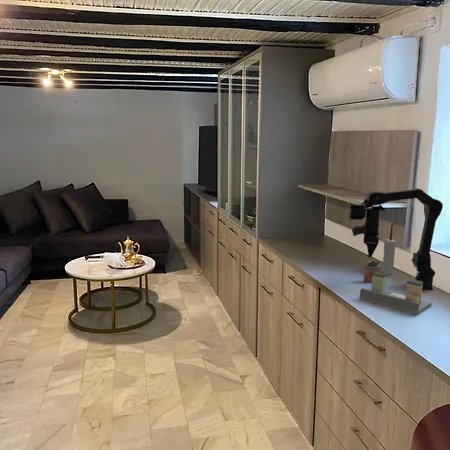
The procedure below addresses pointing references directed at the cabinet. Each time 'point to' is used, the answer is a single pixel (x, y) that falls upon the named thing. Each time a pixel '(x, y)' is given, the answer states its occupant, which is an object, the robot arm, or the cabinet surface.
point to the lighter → (371, 270)
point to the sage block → (379, 282)
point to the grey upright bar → (388, 255)
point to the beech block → (414, 290)
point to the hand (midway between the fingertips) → (370, 254)
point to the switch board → (394, 301)
